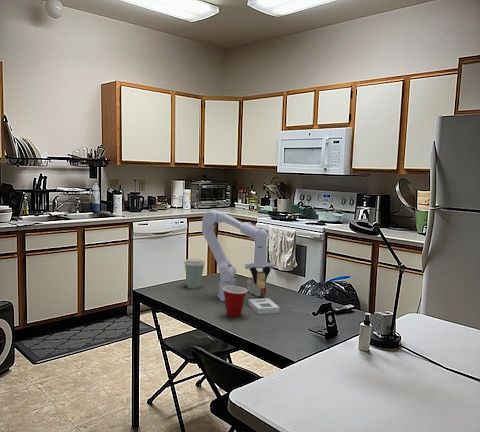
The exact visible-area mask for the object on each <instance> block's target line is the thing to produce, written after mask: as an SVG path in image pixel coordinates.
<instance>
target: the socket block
mask: <svg viewBox="0 0 480 432" xmlns="http://www.w3.org/2000/svg"><path fill="white" fill-rule="evenodd" d="M247 305H248V306H249V307H250V309H252V310H253V312H255V313H256V314H257V315H265V314H266V315H267V314H269V315H270V314H278V313H279V314H280V306H279V305H278V304H276V303H275V302H274V301H273V300H271V298H269V297H265V298H264V297H261V298H250V299H247Z"/></svg>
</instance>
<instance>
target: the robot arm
mask: <svg viewBox="0 0 480 432" xmlns="http://www.w3.org/2000/svg"><path fill="white" fill-rule="evenodd" d="M201 220H202V223H201V224H202V225H201V233H202V235H203V236H204V238H205V241H206V243H207V245H208V247H209V249H210V251H211V253H212V255H213V258H214V259H215V262H216V263H217V267H218V269H217V270H218V272H219V279H220V281H219V283H218V285H219V286H218V294H216V296H217V298H218V299H219V300H220V301H221V302H225V296H224V291H223V287H225V286H236V278H235V276H236V275H237V270H236V267H235V266H234V265H232V263H231V262H230V261H229V259H228V257H227V256H226V254H225V252H224V250H223V248H222V245H221V244H220V242H219V239H218V238H217V235H216V233H215V231H214V230H215V227H216V225H217V224H219V223H226V224H227V225H229V226H232V227H234V228H236V229H238V230H239V231H240V233H241V234H242V235H245V236H247V237H248V238H251V239H253V240H254V241H255V243H254V258H253V262H252V263H245V264H244V269H245V270H249V271H250V273H251V277H253V281H254V283H255V284H256V283H257V272H259V271H258V270H257V269H261V270H262V271H263V272H264V273H265V284H266V282H267V279H268V276H269V274H270V273H271V270H272V269H275V268H276V263H274V262H267V251H268V250H267V248H268V245H267V243H268V241H267V239H268V231H266V230H265V229H264V228H261V227H260V226H255V225H254V224H252V222H250V221H248V222H247V221H245V222H241V220H240V221H239V220H238V219H236V218H234V217H232V216H231V215H229V214H227V213H225V212H223V211H221V210H218V209H216V208H214V209H211V210H207V211H206V212H204V214H203V217H202V219H201Z"/></svg>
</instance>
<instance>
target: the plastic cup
mask: <svg viewBox="0 0 480 432" xmlns="http://www.w3.org/2000/svg"><path fill="white" fill-rule="evenodd" d="M223 291H224V296H225V301H224V302H225V303H224V304H225V308H226V314H227V317H230V318H234V319H235V318H240V317H241V315H242V311H243V306H244V302H245V297H246V294H247V293H248V292H249V291H248V289H247V288H245V287H242V286H237V285H235V286H225V287H223Z"/></svg>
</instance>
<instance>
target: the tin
mask: <svg viewBox="0 0 480 432" xmlns="http://www.w3.org/2000/svg"><path fill="white" fill-rule="evenodd" d="M246 289H247V290H248V291H247V292H249V294H252V295H253V296H255V297H257V298H264V297H265V296H266V294H267V287H266V286H265V288H256V287H255V286H254V281H253V276H250V277H248V278H247V279H246Z"/></svg>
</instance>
